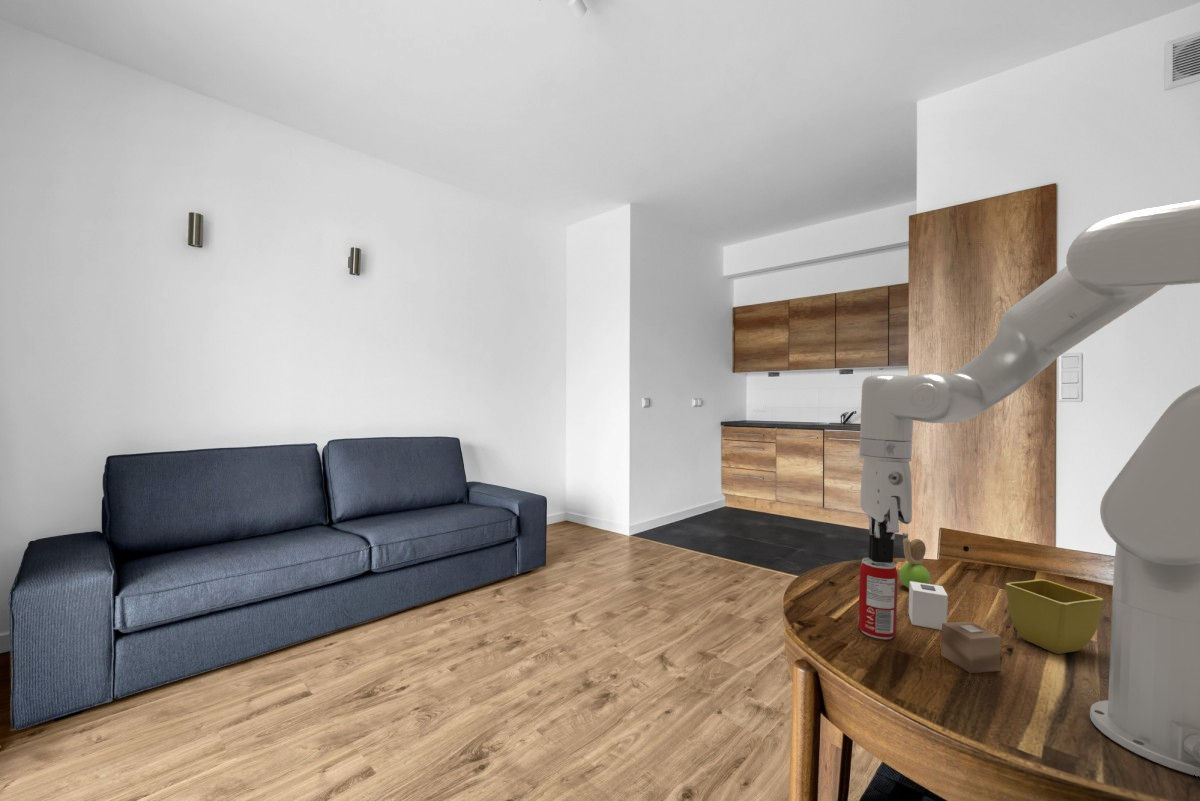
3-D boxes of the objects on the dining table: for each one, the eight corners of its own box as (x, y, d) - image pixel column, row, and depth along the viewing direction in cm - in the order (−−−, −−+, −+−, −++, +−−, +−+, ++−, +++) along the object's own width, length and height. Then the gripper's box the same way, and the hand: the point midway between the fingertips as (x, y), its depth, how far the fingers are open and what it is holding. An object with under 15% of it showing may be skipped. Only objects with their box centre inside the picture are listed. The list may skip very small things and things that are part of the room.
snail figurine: (889, 587, 105) (891, 529, 105) (910, 583, 108) (911, 527, 108) (915, 597, 100) (917, 536, 100) (936, 592, 103) (938, 533, 103)
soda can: (876, 623, 88) (878, 554, 88) (903, 638, 83) (906, 564, 83) (850, 627, 86) (852, 556, 86) (877, 642, 81) (879, 567, 81)
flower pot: (1062, 663, 76) (1064, 603, 76) (1001, 636, 84) (1003, 582, 84) (1103, 656, 78) (1105, 598, 78) (1040, 631, 87) (1042, 578, 87)
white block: (946, 631, 86) (947, 594, 86) (911, 624, 88) (913, 589, 88) (941, 619, 90) (942, 585, 90) (908, 613, 93) (909, 579, 92)
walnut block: (999, 671, 73) (1001, 635, 73) (970, 673, 73) (971, 637, 72) (969, 653, 78) (970, 620, 78) (940, 655, 77) (942, 621, 77)
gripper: (931, 456, 76) (925, 579, 76) (892, 446, 91) (887, 549, 91) (876, 454, 77) (871, 574, 77) (847, 444, 92) (843, 545, 92)
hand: (880, 560), depth 84 cm, fingers closed
